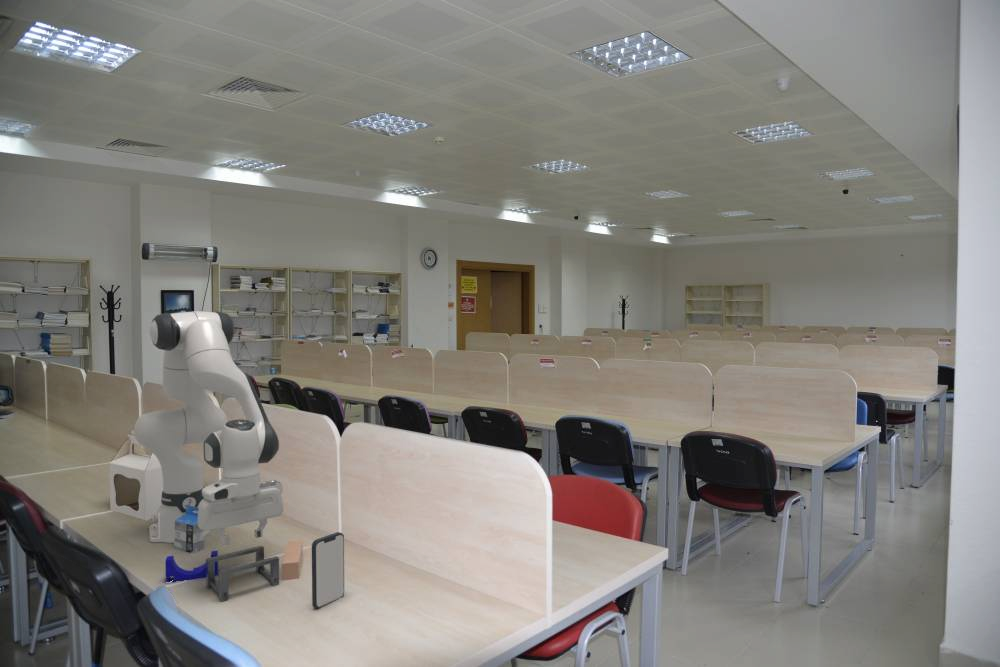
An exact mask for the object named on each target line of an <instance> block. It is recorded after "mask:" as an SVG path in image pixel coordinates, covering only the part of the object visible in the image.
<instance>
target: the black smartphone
mask: <svg viewBox="0 0 1000 667" xmlns="http://www.w3.org/2000/svg"><path fill="white" fill-rule="evenodd" d="M311 586H312V587H311V591H312V592H311V602H312V603H311V604H312V607H314V608H315V609H321V608H323V607H326V606H327V605H329V604H332V603H333V602H335V601H337V600H339V599H342V598H343V597H344V596H345V537H344V534H343V533H342V532H340V531H337V532H334V533H331V534H328V535H325V536H322V537H320V538H319V537H318V538H317V539H314V540H313V541H312V543H311Z"/></svg>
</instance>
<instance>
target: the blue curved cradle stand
mask: <svg viewBox="0 0 1000 667" xmlns="http://www.w3.org/2000/svg"><path fill="white" fill-rule="evenodd" d="M210 552H211V553H210V557H209V558H211V557H215V556H219V550H211V551H210ZM164 564H165V583H166V582H170V581H172V580H173V581H172V583H177V582H176V581H180V582H185V581H184V580H187V581H193V580H200V579H205V578H206V562H205V563H203V564H202V565H200V566H197V567H194V568H193V569H191V570H187V569H185V568H184V569H183V568H181V567H180V566H179V565H178V564H177V562H176V561H175V556H174V555H169V556H166V558H165V563H164ZM217 576H219V561H217V562H215V577H217Z"/></svg>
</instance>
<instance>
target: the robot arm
mask: <svg viewBox="0 0 1000 667" xmlns="http://www.w3.org/2000/svg"><path fill="white" fill-rule="evenodd" d="M234 325H235V324H234V321H233V318H232V317H231V316H230V315H229V314H228V313H226V312H222V311H202V310H199V311H198V310H193V311H192V310H191V311H183V312H182V311H181V312H173V313H172V312H171V313H169V312H166V313H165V312H164V313H160V314H157V315H155V316H154V317H153V319H152V321H151V323H150V327H149V328H150V329H149V336H150V339H151V341H152V343H153V346H154V347H156V348H157V349H158V350H163V351H164V352H163V363H162V389H163V391H164V393H165V395H167V396H169V397H170V398H172V399H175V400H178V401H181V402H183V403H184V407H181V408H173V409H163V410H162V409H161V410H155V411H151V412H147V413H144V414H141V415H140V416H139V417H138V418H137V420H136V421H135V423H134V428H133V430H134V435H135V438H136V440H137V441H138V442H139V444H141V446H142V448H146V449H147V450H148V451H150V452H151V454H152V453H153V454H154V455H155V456H156V457H157V459H158V460H159V462H160V465H161V468H162V475H163V491H162V495H161V503H162V504H161V506H160V507H159V509H158V510H157V515H151V519H150V520H151V521H150V522H151V523H152V524H150V525H149V527H148V531H149V533H148V534H149V543H168V544H169V543H170V544H171V543H173V544H174V540H175V520H177V519H178V518H180V517H181V516H182V515H184V514H185V513H186V508H185V505H189V506H194V507H198V508H199V509H198V511H195V510H192V512H195V513H198V527H199V528H200V529H201V530H202V531H204V537H205V536H206V535H208V534H209V533H210V532H212V531H216V533H217V535H218V536H219V537H220V542H221V545H222V546H227V545H230V542H231V540H230V537H229V535H225V534H224V533H225V532H226V529H225V528H231V527H233V526H239V525H243V524H248V523H253V522H259V525H258V527H257V529H254V530H253V531H254V537H255V538H256V539H258V538H262V537H263V535H264V533H263V532H264V531H263V530H264V529H265V528H266V525H267V524H268V519H271V518H272V519H273V518H276V517H280V516H282V514H283V513H284V505H283V504H284V502H283V501H284V500H283V497H282V494H283V484H282V482H280V481H278V480H277V479H272V480H270V481H269V480H268V481H261V469H260V467H259V464H268V463H270V462H271V460H272V459H274V457H275V456H276V455H277V453H278V451H279V449H280V443H279V442H280V440H279V438H278V434H277V432H276V431H275V429H274V427H273V426H272V424H271V423H270V421H269V418H268V415H267V414H266V411H265V409H264V407H263V404H262V401H261V399H260V397H259V395H258V392H257V390H256V388H255V385H254V384H253V381H252V380H251V378H250V376H249V374H248V373H246V372H244V371H242V370H241V369H240V367H238V366H237V364H236V363H235V361H234V360H233V357H232V354H231V349H230V346H229V345H230V343H231V342H232V341H233V339H234V334H235V326H234ZM206 391H209V392H215V393H219V394H222V395H226V396H228V397H231V398H232V399H235V400H236V401H237V402H238V404H239V405H240V406H241V409H242V411H243V413H244V414H243V415H244V416H245V419H233V420H228V416H227V414H226V413H225V411H223V409H222V408H220V407H219V406H217V405H215V403H213V402H212V400H211V399H210V398H209V396H208V394H207V392H206ZM200 443H201V444H202V443H203V460H204V462H205V463H206V464H208V465H209V466H211V467H212V468H215V469H222V475H221V479H219V480H218V481H215V482H213V483H212V484H209V485H207V486H204V464H203V462H202V461H201V460H200V459H199V458H198V457H195V456H193V455H192V454H188V453H184V452H182V446H184V445H192V444H200ZM153 523H154V524H153Z"/></svg>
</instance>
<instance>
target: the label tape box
mask: <svg viewBox="0 0 1000 667" xmlns="http://www.w3.org/2000/svg"><path fill="white" fill-rule="evenodd" d="M185 508H186V513H185V514H184V515H182V516H181V517H180V518H178V519H177V520H175V540H174V543H173V544H174V546H173V547H174V549H175V550H180V551H183V552H186V553H190V554H195V553H198V552H200V551H202V550H205V536H204V531H202V530H201V529H200V528H199V527H198V513H195V512H192V510H195V511H198V509H199V508H198V507H194V506H189V505H185Z"/></svg>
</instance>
